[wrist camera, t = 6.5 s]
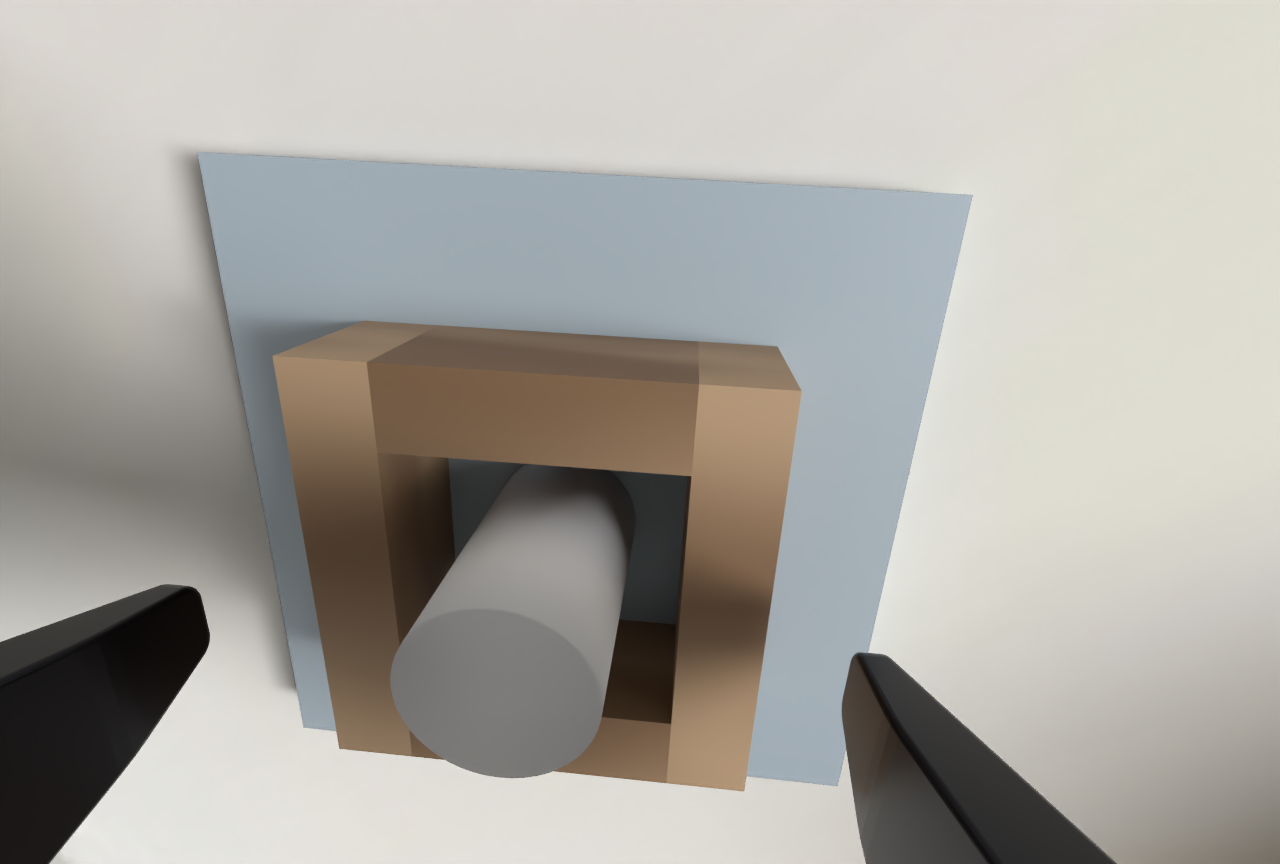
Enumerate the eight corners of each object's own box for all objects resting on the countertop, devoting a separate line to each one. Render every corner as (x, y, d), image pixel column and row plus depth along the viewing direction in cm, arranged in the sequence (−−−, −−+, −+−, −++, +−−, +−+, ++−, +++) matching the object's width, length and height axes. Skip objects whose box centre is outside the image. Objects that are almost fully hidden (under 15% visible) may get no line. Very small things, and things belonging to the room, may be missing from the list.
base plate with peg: (828, 747, 14) (901, 1052, 9) (327, 694, 15) (140, 950, 10) (947, 195, 10) (1203, 194, 5) (240, 155, 11) (-167, 120, 6)
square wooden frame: (734, 682, 13) (744, 791, 10) (402, 650, 13) (339, 748, 11) (777, 346, 10) (801, 391, 8) (364, 320, 11) (272, 355, 8)
